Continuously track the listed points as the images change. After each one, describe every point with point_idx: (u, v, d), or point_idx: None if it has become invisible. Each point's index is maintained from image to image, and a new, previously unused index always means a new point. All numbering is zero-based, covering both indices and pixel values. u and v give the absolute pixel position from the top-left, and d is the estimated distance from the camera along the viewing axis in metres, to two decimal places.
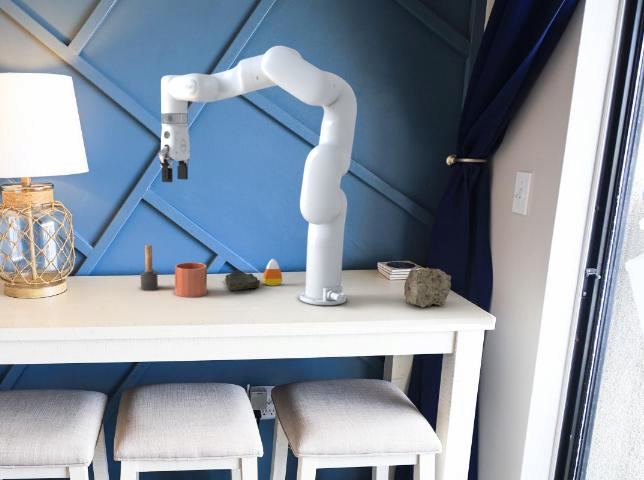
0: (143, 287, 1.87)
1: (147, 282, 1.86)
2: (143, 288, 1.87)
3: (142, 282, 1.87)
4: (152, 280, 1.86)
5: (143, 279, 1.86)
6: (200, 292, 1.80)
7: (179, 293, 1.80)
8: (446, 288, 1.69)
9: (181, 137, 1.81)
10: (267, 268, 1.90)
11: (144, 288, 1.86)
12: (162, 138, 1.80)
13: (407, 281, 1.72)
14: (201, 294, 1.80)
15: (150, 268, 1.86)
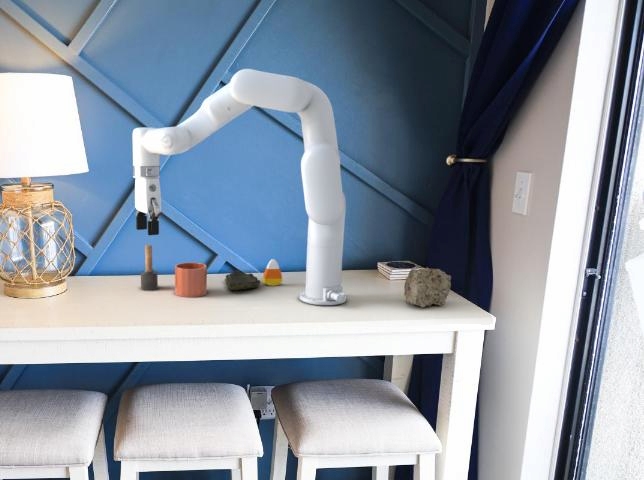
0: (143, 287, 1.87)
1: (147, 282, 1.86)
2: (143, 288, 1.87)
3: (142, 282, 1.87)
4: (152, 280, 1.86)
5: (143, 279, 1.86)
6: (200, 292, 1.80)
7: (179, 293, 1.80)
8: (446, 287, 1.69)
9: None
10: (267, 268, 1.90)
11: (144, 288, 1.86)
12: (147, 191, 1.77)
13: (407, 281, 1.72)
14: (201, 294, 1.80)
15: (150, 268, 1.86)
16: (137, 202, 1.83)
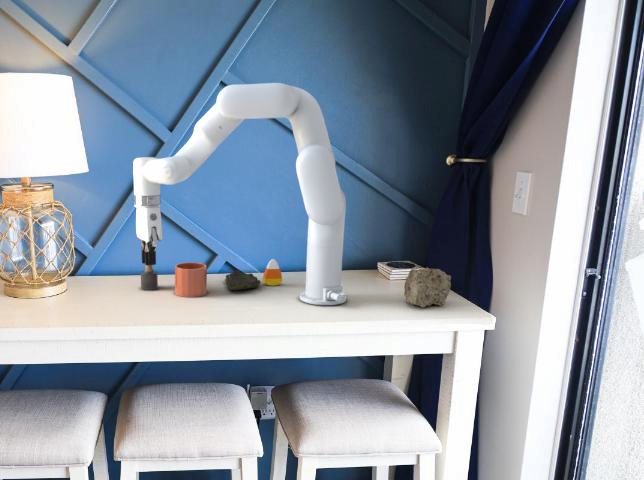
0: (143, 287, 1.87)
1: (147, 282, 1.86)
2: (143, 288, 1.87)
3: (142, 282, 1.87)
4: (152, 280, 1.86)
5: (143, 279, 1.86)
6: (200, 292, 1.80)
7: (179, 293, 1.80)
8: (446, 288, 1.69)
9: None
10: (267, 268, 1.90)
11: (144, 288, 1.86)
12: (148, 220, 1.79)
13: (407, 281, 1.72)
14: (201, 294, 1.80)
15: (150, 268, 1.86)
16: (138, 230, 1.85)
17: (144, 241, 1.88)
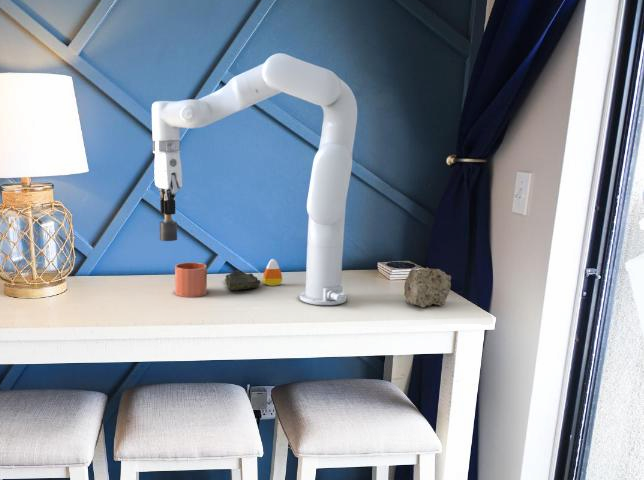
0: (162, 238, 1.80)
1: (167, 232, 1.79)
2: (162, 239, 1.80)
3: (161, 232, 1.80)
4: (171, 230, 1.79)
5: (162, 230, 1.80)
6: (200, 292, 1.80)
7: (179, 293, 1.80)
8: (446, 288, 1.69)
9: None
10: (267, 268, 1.90)
11: (163, 239, 1.80)
12: (168, 166, 1.72)
13: (407, 281, 1.72)
14: (201, 294, 1.80)
15: (169, 218, 1.80)
16: (157, 178, 1.79)
17: (163, 190, 1.82)
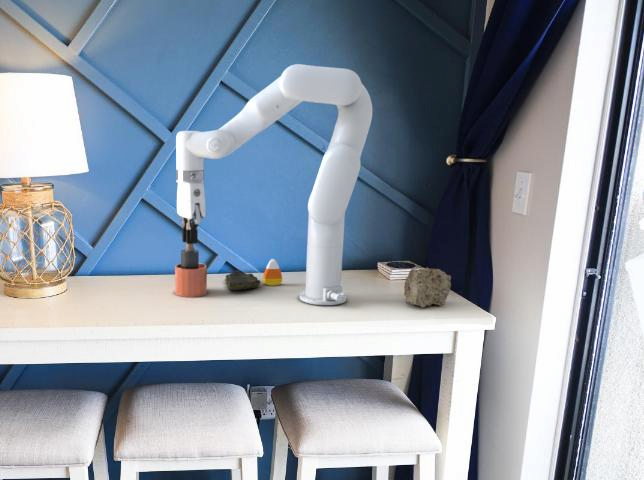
0: (184, 266, 1.80)
1: (188, 261, 1.79)
2: (184, 268, 1.80)
3: (183, 261, 1.79)
4: (193, 259, 1.79)
5: (184, 258, 1.79)
6: (200, 292, 1.80)
7: (179, 293, 1.80)
8: (446, 288, 1.69)
9: None
10: (267, 268, 1.90)
11: (185, 268, 1.79)
12: (192, 196, 1.72)
13: (407, 281, 1.72)
14: (201, 294, 1.80)
15: (191, 247, 1.79)
16: (180, 207, 1.78)
17: (185, 219, 1.81)
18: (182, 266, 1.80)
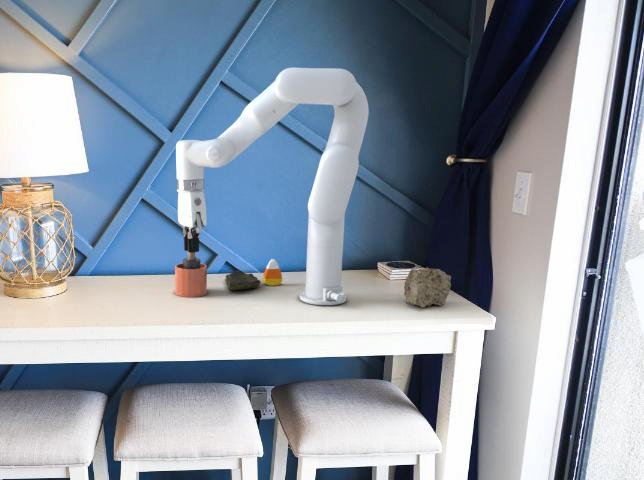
0: None
1: None
2: None
3: None
4: (195, 267, 1.79)
5: (186, 267, 1.79)
6: (200, 292, 1.80)
7: (179, 293, 1.80)
8: (446, 288, 1.69)
9: None
10: (267, 268, 1.90)
11: None
12: (192, 205, 1.72)
13: (407, 281, 1.72)
14: (201, 294, 1.80)
15: (193, 255, 1.80)
16: (181, 216, 1.78)
17: (186, 228, 1.81)
18: None
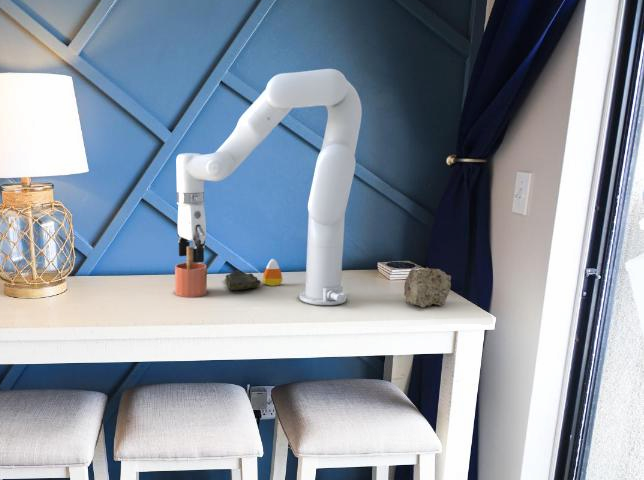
0: None
1: None
2: None
3: None
4: None
5: None
6: (200, 292, 1.80)
7: (179, 293, 1.80)
8: (446, 288, 1.69)
9: None
10: (267, 268, 1.90)
11: None
12: (192, 218, 1.73)
13: (407, 281, 1.72)
14: (201, 294, 1.80)
15: None
16: (180, 229, 1.79)
17: None
18: None
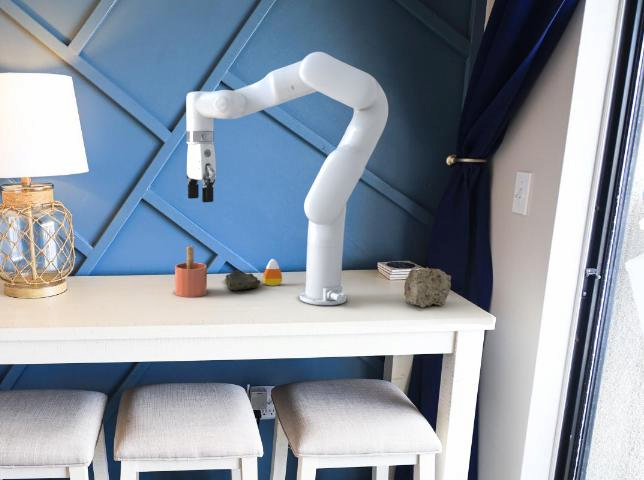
0: None
1: None
2: None
3: None
4: None
5: None
6: (200, 292, 1.80)
7: (179, 293, 1.80)
8: (446, 288, 1.69)
9: None
10: (267, 268, 1.90)
11: None
12: (202, 157, 1.72)
13: (407, 281, 1.72)
14: (201, 294, 1.80)
15: None
16: (190, 169, 1.79)
17: None
18: None
